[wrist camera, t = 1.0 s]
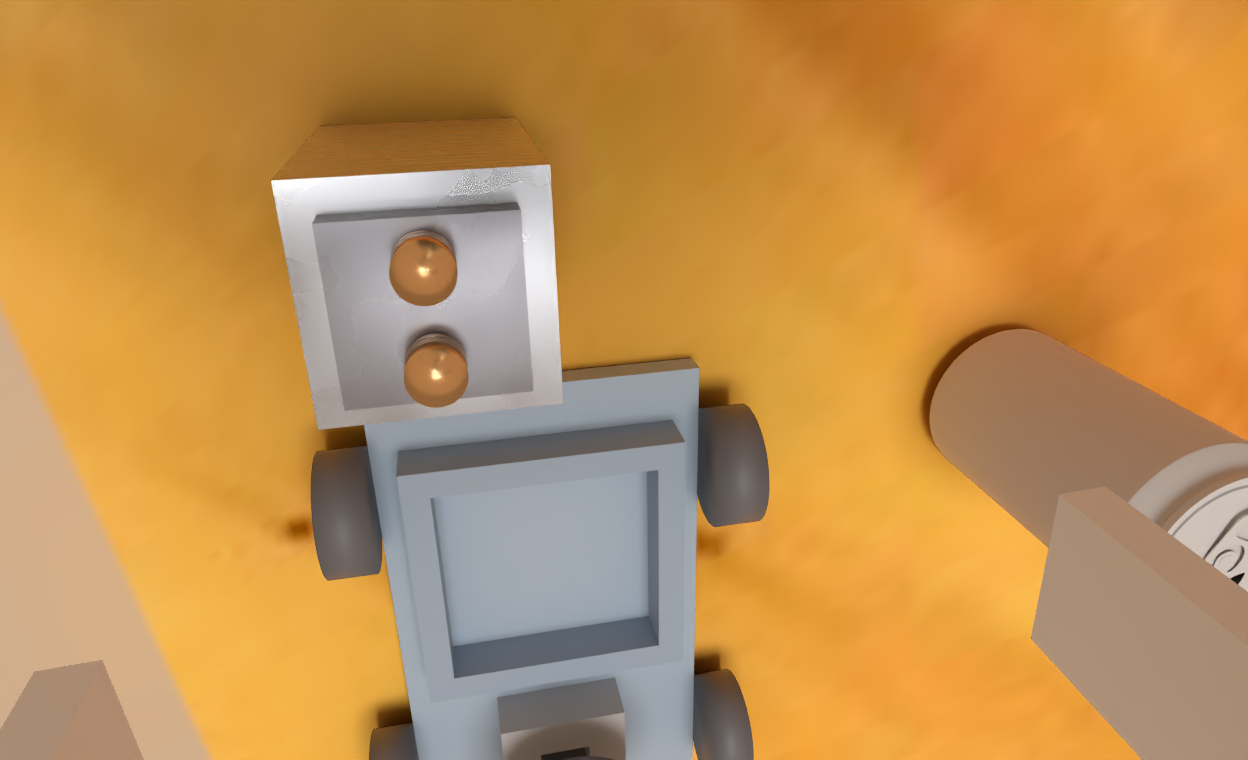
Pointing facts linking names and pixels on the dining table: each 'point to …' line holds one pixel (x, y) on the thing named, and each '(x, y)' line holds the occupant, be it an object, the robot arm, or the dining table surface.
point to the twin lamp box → (422, 269)
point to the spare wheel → (589, 758)
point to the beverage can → (1089, 444)
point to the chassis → (551, 567)
